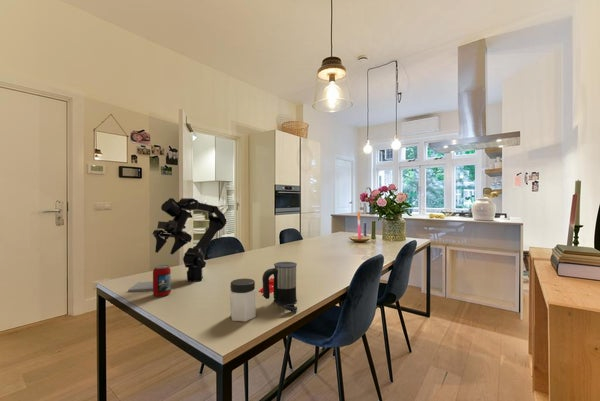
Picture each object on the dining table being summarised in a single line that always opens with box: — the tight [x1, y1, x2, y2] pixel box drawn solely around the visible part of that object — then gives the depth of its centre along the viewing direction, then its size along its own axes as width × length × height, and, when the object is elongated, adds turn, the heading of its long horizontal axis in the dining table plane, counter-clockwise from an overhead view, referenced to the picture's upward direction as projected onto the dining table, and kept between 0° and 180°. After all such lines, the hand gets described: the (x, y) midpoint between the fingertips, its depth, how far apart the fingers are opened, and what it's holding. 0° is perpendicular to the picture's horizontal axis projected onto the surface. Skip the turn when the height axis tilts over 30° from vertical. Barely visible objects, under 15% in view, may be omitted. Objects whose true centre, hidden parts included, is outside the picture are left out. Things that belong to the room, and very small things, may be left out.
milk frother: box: [261, 261, 298, 313], centre depth 107 cm, size 14×16×15 cm
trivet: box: [128, 280, 153, 293], centre depth 130 cm, size 11×11×1 cm
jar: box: [230, 278, 256, 322], centre depth 97 cm, size 9×8×12 cm
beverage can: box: [152, 264, 172, 298], centre depth 120 cm, size 7×7×12 cm
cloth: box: [258, 277, 274, 294], centre depth 130 cm, size 26×14×2 cm, turn 160°
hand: (163, 253), depth 124 cm, fingers open, 9 cm apart
